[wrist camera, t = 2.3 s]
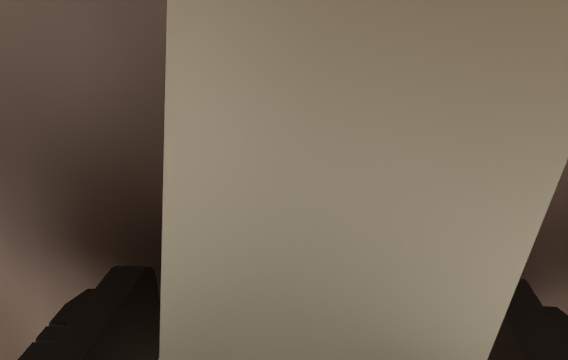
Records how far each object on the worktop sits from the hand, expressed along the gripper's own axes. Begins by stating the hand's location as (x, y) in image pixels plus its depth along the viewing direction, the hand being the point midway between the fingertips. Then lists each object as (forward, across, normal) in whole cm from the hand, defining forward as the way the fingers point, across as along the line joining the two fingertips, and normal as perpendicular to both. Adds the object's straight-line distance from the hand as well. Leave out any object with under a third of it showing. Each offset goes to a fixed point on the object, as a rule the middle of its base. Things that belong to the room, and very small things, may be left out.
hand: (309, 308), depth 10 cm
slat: (+1, 0, 0) cm, 1 cm away
